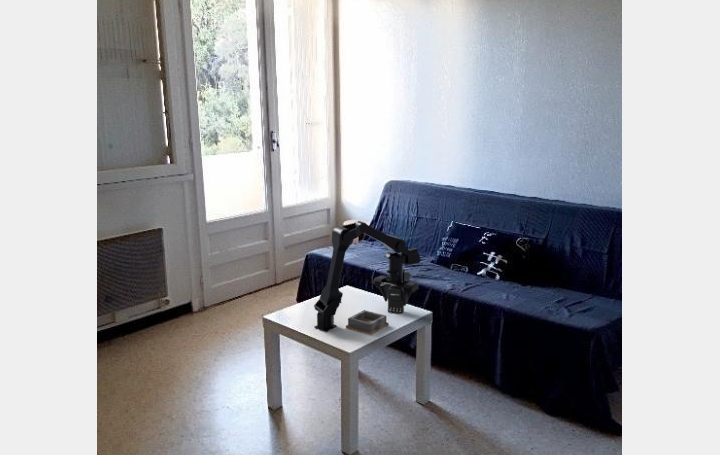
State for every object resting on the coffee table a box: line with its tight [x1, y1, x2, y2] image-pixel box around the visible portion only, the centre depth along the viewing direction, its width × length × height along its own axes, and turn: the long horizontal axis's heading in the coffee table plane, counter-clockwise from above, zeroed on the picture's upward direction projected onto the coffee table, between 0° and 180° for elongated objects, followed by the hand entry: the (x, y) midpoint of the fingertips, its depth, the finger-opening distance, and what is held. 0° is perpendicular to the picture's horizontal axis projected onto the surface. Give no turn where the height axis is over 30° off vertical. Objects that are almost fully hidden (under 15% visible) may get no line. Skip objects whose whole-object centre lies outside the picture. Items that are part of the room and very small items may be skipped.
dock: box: [345, 309, 390, 336], centre depth 227 cm, size 12×12×4 cm
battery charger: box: [387, 285, 405, 314], centre depth 240 cm, size 7×4×11 cm, turn 75°
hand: (395, 303), depth 241 cm, fingers open, 9 cm apart
